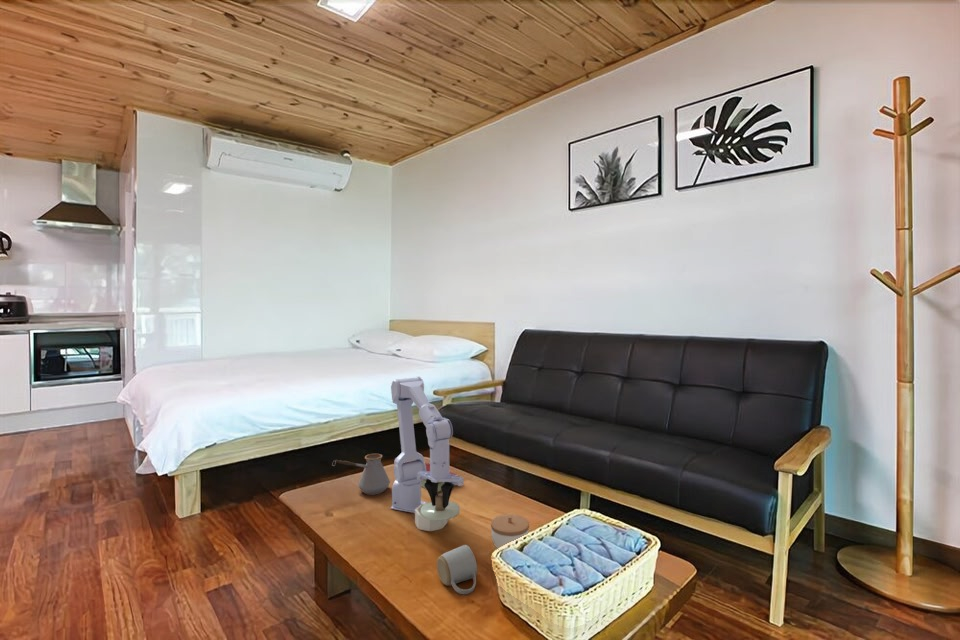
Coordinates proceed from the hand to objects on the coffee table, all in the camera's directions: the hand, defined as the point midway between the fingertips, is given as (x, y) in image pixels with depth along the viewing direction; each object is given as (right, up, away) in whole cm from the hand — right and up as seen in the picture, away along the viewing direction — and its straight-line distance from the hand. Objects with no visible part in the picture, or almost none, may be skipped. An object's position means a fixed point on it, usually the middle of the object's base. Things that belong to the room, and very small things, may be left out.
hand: (440, 505), depth 139 cm
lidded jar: (+20, -9, -8) cm, 24 cm away
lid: (0, -2, 0) cm, 2 cm away
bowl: (-4, -9, +8) cm, 12 cm away
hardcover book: (-7, -8, +42) cm, 43 cm away
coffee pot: (-31, -8, +30) cm, 44 cm away
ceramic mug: (+7, -10, -23) cm, 26 cm away
